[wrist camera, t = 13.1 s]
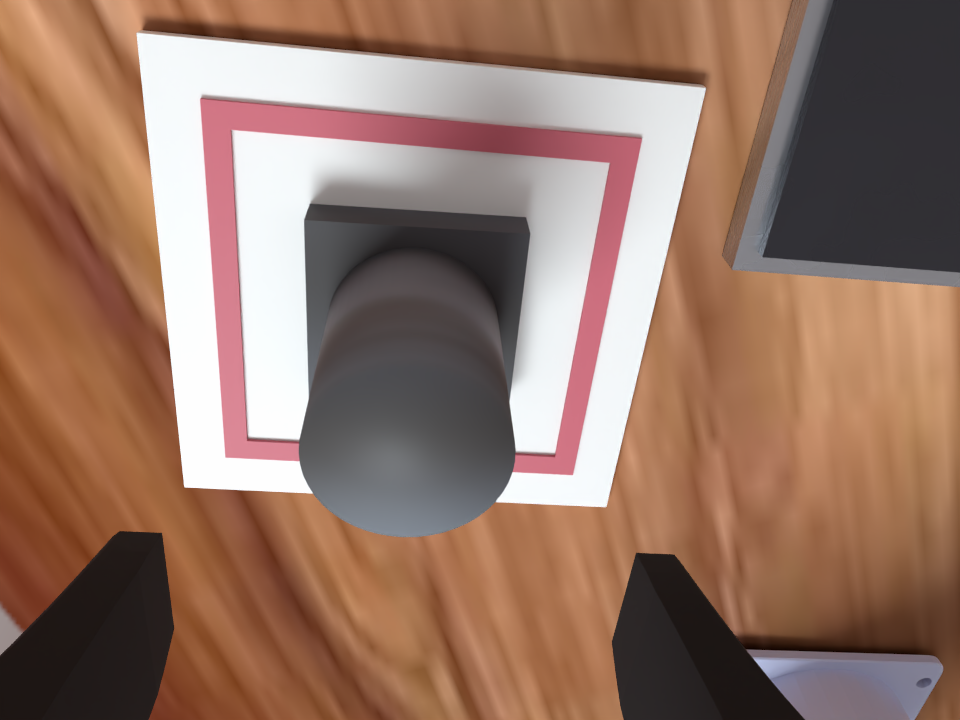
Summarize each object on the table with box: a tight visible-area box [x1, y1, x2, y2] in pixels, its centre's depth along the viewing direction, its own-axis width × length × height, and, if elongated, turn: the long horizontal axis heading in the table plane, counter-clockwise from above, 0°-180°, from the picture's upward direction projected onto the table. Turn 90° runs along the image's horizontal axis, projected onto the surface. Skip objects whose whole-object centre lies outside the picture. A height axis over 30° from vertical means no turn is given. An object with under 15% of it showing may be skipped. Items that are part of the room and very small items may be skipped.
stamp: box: [299, 204, 530, 537], centre depth 18 cm, size 5×5×6 cm
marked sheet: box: [137, 30, 706, 507], centre depth 21 cm, size 12×12×1 cm
